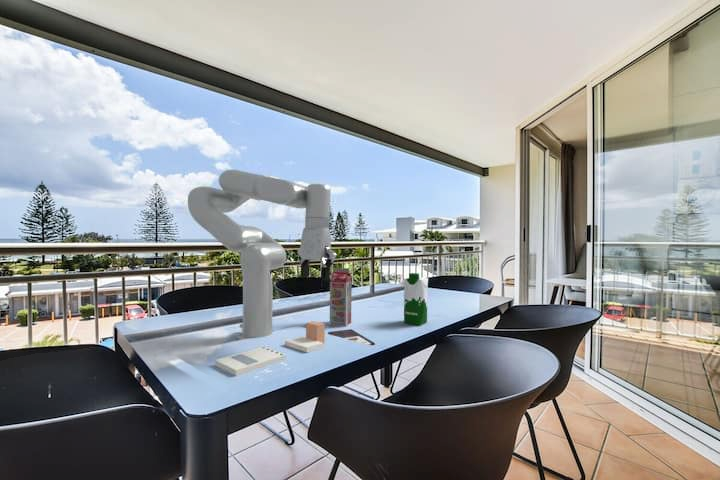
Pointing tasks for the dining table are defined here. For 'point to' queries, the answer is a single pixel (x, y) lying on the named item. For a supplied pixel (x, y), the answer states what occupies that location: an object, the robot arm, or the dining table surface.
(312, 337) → the stub
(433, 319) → the dining table surface
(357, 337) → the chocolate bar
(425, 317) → the milk carton
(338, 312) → the juice carton
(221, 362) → the cream flat block
